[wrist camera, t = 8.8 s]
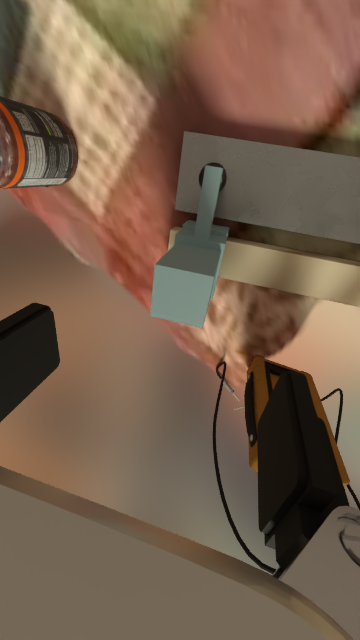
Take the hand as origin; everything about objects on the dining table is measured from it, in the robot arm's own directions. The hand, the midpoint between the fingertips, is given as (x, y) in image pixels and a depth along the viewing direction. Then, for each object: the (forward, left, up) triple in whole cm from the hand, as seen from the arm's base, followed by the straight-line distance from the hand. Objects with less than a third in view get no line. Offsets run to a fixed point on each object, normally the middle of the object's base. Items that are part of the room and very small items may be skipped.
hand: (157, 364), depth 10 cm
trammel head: (0, -2, -18) cm, 18 cm away
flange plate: (-8, -6, -19) cm, 21 cm away
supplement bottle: (+17, -6, -19) cm, 26 cm away
